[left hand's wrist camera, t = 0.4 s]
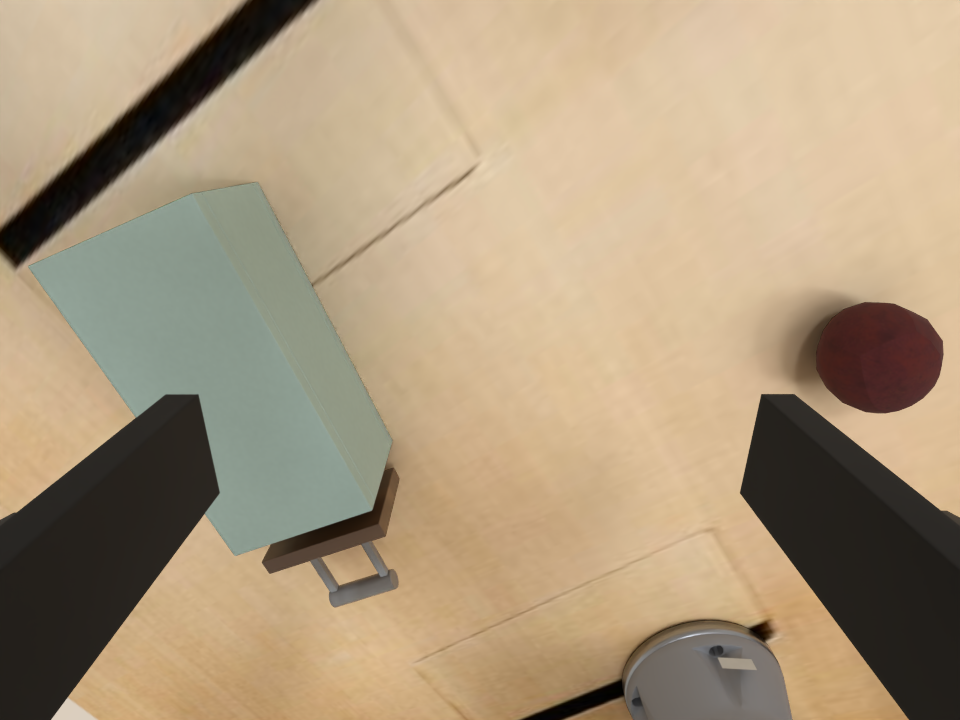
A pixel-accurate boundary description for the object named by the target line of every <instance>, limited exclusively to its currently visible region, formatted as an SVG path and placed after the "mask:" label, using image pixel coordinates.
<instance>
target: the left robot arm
mask: <svg viewBox="0 0 960 720" xmlns="http://www.w3.org/2000/svg"><path fill="white" fill-rule="evenodd" d="M219 494H220V491H219V486H218V482H217V477H216V472H215V468H214V463H213V459H212V454H211V449H210V445H209V440H208V435H207V431H206V426H205V422H204V417H203V412H202V408H201V403H200V399H199V394H165V395H164V396H163V397H162V398H160V399H159V400H158V401H157V402H155V403H154V404H153V405H152V406H150V407H149V408H148V409H147V410H145V411H144V412H143V413H142V414H140V415H139V416H138V417H137V418H135V419H134V420H133V421H132V422H130V423H129V424H128V425H126V426H125V427H124V428H123V429H121V430H120V431H119V432H118V433H116V434H115V435H114V436H113V437H111V438H110V439H109V440H108V441H106V442H105V443H104V444H103V445H101V446H100V447H99V448H98V449H96V450H95V451H94V452H92V453H91V454H90V455H89V456H87V457H86V458H85V459H84V460H82V461H81V462H80V463H79V464H77V465H76V466H75V467H74V468H72V469H71V470H70V471H69V472H67V473H66V474H65V475H64V476H62V477H61V478H60V479H59V480H57V481H56V482H55V483H53V484H52V485H51V486H50V487H48V488H47V489H46V490H45V491H43V492H42V493H41V494H40V495H38V496H37V497H36V498H35V499H33V500H32V501H31V502H30V503H28V504H27V505H26V506H25V507H23V508H22V509H21V510H19V511H18V512H17V513H12V514H11V515H9V516H7V517H5V518H3V519H1V520H0V720H51V719H52V718H53V716H54V715H55V713H56V712H57V711H58V709H59V708H60V707H61V705H62V704H63V703H64V701H65V700H66V699H67V697H68V696H69V695H70V693H71V692H72V691H73V689H74V688H75V687H76V685H77V684H78V683H79V681H80V680H81V679H82V677H83V676H84V675H85V673H86V672H87V671H88V669H89V668H90V667H91V665H92V664H93V663H94V661H95V660H96V659H97V657H98V656H99V655H100V653H101V652H102V651H103V649H104V648H105V646H106V645H107V644H108V642H109V641H110V640H111V638H112V637H113V636H114V634H115V633H116V632H117V630H118V629H119V628H120V626H121V625H122V624H123V622H124V621H125V620H126V618H127V617H128V616H129V614H130V613H131V612H132V610H133V609H134V608H135V606H136V605H137V604H138V602H139V601H140V600H141V598H142V597H143V596H144V594H145V593H146V592H147V590H148V589H149V588H150V586H151V585H152V583H153V582H154V581H155V579H156V578H157V577H158V575H159V574H160V573H161V571H162V570H163V569H164V567H165V566H166V565H167V563H168V562H169V561H170V559H171V558H172V557H173V555H174V554H175V553H176V551H177V550H178V549H179V547H180V546H181V545H182V543H183V542H184V541H185V539H186V538H187V537H188V535H189V534H190V533H191V531H192V530H193V529H194V527H195V526H196V525H197V523H198V522H199V521H200V519H201V518H202V516H203V515H204V514H205V512H206V511H207V510H208V508H209V507H210V506H211V504H212V503H213V502H214V500H215V499H216V498H217V496H218V495H219ZM740 494H741V495H742V496H743V498H744V499H745V500H746V502H747V503H748V504H749V506H750V507H751V508H752V510H753V511H754V512H755V514H756V515H757V516H758V518H759V519H760V521H761V522H762V523H763V525H764V526H765V527H766V529H767V530H768V531H769V533H770V534H771V535H772V537H773V538H774V539H775V541H776V542H777V543H778V545H779V546H780V547H781V549H782V550H783V551H784V553H785V554H786V555H787V557H788V558H789V559H790V561H791V562H792V563H793V565H794V566H795V567H796V569H797V570H798V571H799V573H800V574H801V575H802V577H803V578H804V579H805V581H806V582H807V583H808V585H809V586H810V588H811V589H812V590H813V592H814V593H815V594H816V596H817V597H818V598H819V600H820V601H821V602H822V604H823V605H824V606H825V608H826V609H827V610H828V612H829V613H830V614H831V616H832V617H833V618H834V620H835V621H836V622H837V624H838V625H839V626H840V628H841V629H842V630H843V632H844V633H845V634H846V636H847V637H848V638H849V640H850V641H851V642H852V644H853V645H854V646H855V648H856V649H857V651H858V652H859V653H860V655H861V656H862V657H863V659H864V660H865V661H866V663H867V664H868V665H869V667H870V668H871V669H872V671H873V672H874V673H875V675H876V676H877V677H878V679H879V680H880V681H881V683H882V684H883V685H884V687H885V688H886V689H887V691H888V692H889V693H890V695H891V696H892V697H893V699H894V700H895V701H896V703H897V704H898V705H899V707H900V708H901V709H902V711H903V712H904V713H905V715H906V716H907V718H908V719H909V720H960V517H958V516H956V515H954V514H952V513H950V512H948V511H941V510H939V509H938V508H937V507H935V506H934V505H933V504H932V503H930V502H929V501H928V500H927V499H925V498H924V497H923V496H922V495H920V494H919V493H918V492H917V491H915V490H914V489H913V488H912V487H910V486H909V485H908V484H907V483H905V482H904V481H903V480H901V479H900V478H899V477H898V476H896V475H895V474H894V473H893V472H891V471H890V470H889V469H888V468H886V467H885V466H884V465H883V464H881V463H880V462H879V461H878V460H876V459H875V458H874V457H873V456H871V455H870V454H869V453H868V452H866V451H865V450H864V449H862V448H861V447H860V446H859V445H857V444H856V443H855V442H854V441H852V440H851V439H850V438H849V437H847V436H846V435H845V434H844V433H842V432H841V431H840V430H839V429H837V428H836V427H835V426H834V425H832V424H831V423H830V422H828V421H827V420H826V419H825V418H823V417H822V416H821V415H820V414H818V413H817V412H816V411H815V410H813V409H812V408H811V407H810V406H808V405H807V404H806V403H805V402H803V401H802V400H801V399H800V398H798V397H797V396H796V395H795V394H761V399H760V403H759V408H758V412H757V417H756V422H755V426H754V431H753V435H752V440H751V445H750V449H749V454H748V459H747V463H746V468H745V472H744V477H743V482H742V486H741V491H740Z"/></svg>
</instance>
